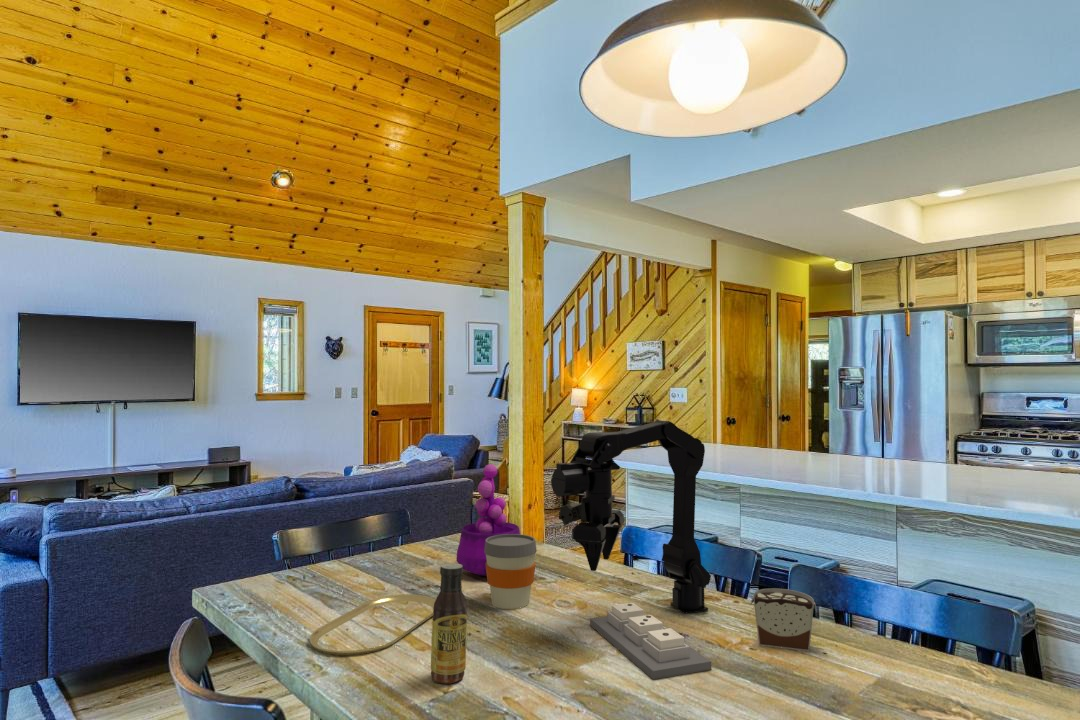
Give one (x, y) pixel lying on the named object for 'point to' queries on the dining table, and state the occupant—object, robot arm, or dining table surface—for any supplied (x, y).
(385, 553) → the dining table surface
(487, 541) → the reusable coffee cup
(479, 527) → the decorative plant
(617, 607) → the tile two dots
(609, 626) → the button panel
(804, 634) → the food container
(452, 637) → the sauce bottle
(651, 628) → the tile three dots
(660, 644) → the tile one dot
